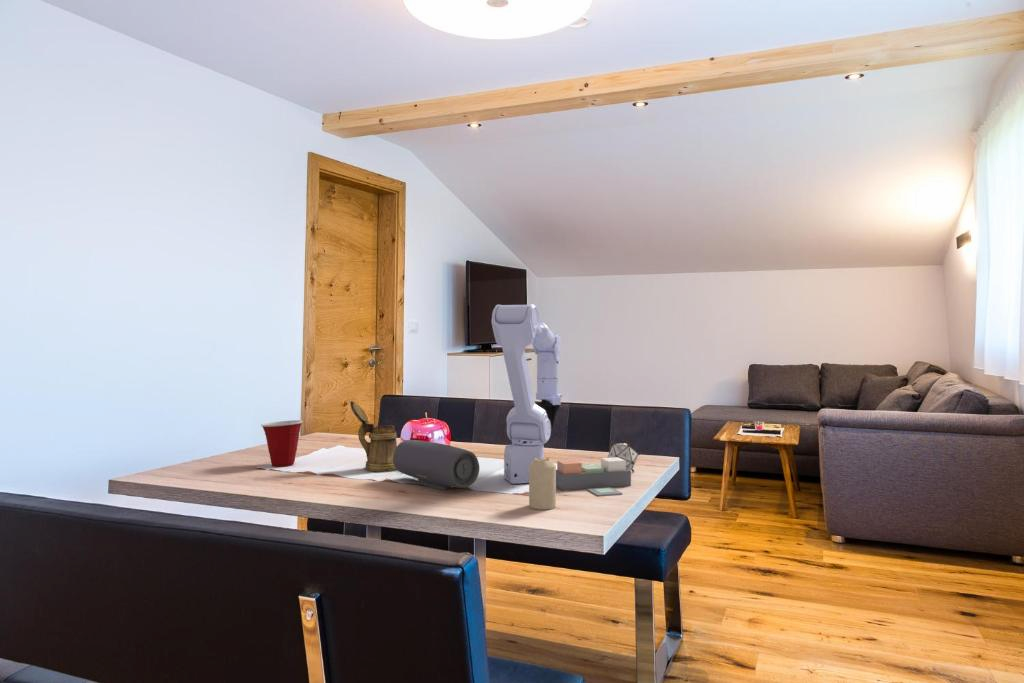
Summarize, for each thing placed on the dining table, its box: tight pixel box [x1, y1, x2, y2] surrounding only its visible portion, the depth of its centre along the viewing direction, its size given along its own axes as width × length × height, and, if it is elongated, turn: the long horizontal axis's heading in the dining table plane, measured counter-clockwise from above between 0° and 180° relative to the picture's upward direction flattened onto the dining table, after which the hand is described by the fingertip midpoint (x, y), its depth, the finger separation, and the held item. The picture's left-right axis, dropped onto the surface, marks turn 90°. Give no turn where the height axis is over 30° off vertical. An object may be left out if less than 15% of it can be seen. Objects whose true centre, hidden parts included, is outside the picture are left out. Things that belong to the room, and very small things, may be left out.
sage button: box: [582, 464, 604, 473], centre depth 158 cm, size 4×4×3 cm
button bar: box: [556, 469, 632, 491], centre depth 158 cm, size 17×6×4 cm, turn 106°
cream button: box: [600, 457, 626, 472], centre depth 160 cm, size 4×4×3 cm
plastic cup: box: [260, 419, 304, 468], centre depth 183 cm, size 11×11×12 cm
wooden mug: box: [349, 400, 398, 473], centre depth 178 cm, size 9×14×18 cm, turn 84°
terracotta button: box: [556, 459, 583, 474], centre depth 157 cm, size 4×4×3 cm
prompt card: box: [586, 487, 623, 497], centre depth 151 cm, size 6×6×1 cm
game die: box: [606, 439, 642, 473], centre depth 173 cm, size 9×8×10 cm
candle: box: [528, 457, 557, 511], centre depth 139 cm, size 6×6×10 cm
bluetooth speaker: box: [393, 439, 480, 490], centre depth 159 cm, size 23×9×10 cm, turn 44°
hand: (547, 429), depth 178 cm, fingers closed
